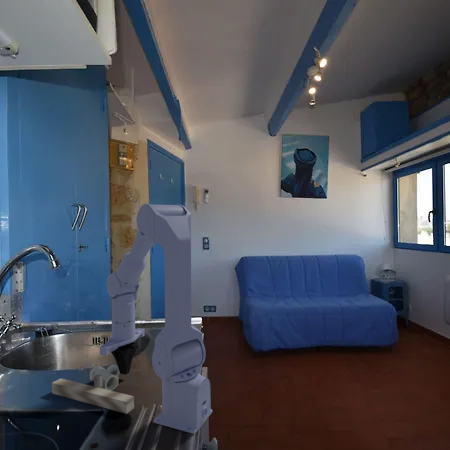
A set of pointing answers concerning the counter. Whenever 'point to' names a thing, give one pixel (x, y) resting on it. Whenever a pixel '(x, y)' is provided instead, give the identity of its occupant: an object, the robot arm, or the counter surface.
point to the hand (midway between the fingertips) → (124, 372)
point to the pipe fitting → (106, 376)
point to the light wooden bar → (94, 394)
